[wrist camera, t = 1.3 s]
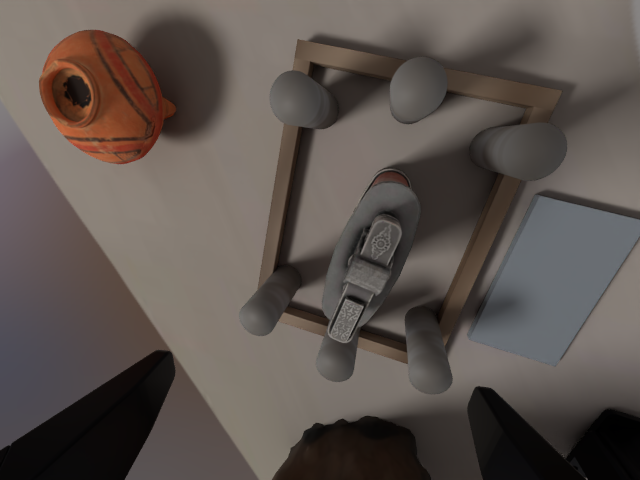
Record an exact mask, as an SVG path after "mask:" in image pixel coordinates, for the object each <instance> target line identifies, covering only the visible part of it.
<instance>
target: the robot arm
mask: <svg viewBox="0 0 640 480" xmlns="http://www.w3.org/2000/svg"><path fill="white" fill-rule="evenodd" d="M174 377H175V365H174V360H173V355H172V353H171V352H170V351H166V350H156V351H154V352H153V353H151V354H150V355H148V356H146V357H145V358H143V359H142V360H140V361H139V362H137V363H135V364H134V365H132V366H131V367H129V368H128V369H126V370H125V371H123V372H121V373H120V374H118V375H117V376H115V377H114V378H112V379H111V380H109V381H108V382H106V383H104V384H103V385H101V386H100V387H98V388H97V389H95V390H93V391H92V392H90V393H89V394H88V395H86V396H84V397H83V398H81V399H80V400H78V401H77V402H75V403H73V404H72V405H70V406H69V407H67V408H65V409H64V410H63V411H61V412H59V413H58V414H56V415H55V416H53V417H51V418H50V419H49V420H47V421H45V422H44V423H42V424H41V425H39V426H38V427H36V428H34V429H33V430H31V431H30V432H28V433H27V434H25V435H24V436H22V437H20V438H19V439H17V440H16V441H14V442H13V443H12V444H11V446H9V445H8V446H6V447H5V448H3V449H2V450H0V480H125V478H126V476H127V474H128V472H129V470H130V469H131V467H132V465H133V463H134V461H135V459H136V458H137V456H138V454H139V452H140V450H141V449H142V447H143V445H144V443H145V441H146V439H147V438H148V436H149V434H150V432H151V430H152V428H153V426H154V423H155V421H156V419H157V417H158V414H159V412H160V409H161V407H162V405H163V403H164V401H165V398H166V396H167V394H168V391H169V389H170V387H171V384H172V382H173V380H174ZM467 412H468V417H469V422H470V426H471V430H472V435H473V439H474V444H475V448H476V453H477V457H478V462H479V466H480V470H481V474H482V477H483V480H586V479H585V478H584V477H586V478H587V479H588V480H640V418H637V417H634V416H631V415H628V414H625V413H622V412H618V411H615V410H611V409H610V410H605V411H604V412H602V414H601V415H600V416H599V418H598V419H597V420H596V421H595V423H594V424H593V425H592V427H591V428H590V429H589V430H588V432H587V433H586V434H585V436H584V437H583V438H582V439H581V441H580V442H579V443H578V444H577V446H576V447H575V448H574V450H573V451H572V452H571V453H570V455H569V456H568V457H567V459H565V458H564V457H563V456H562V455H561V454H559V453H558V452H557V451H556V450H555V449H554V448H553V447H552V446H551V445H550V444H549V443H548V442H547V441H546V440H545V439H544V438H543V437H542V436H541V435H540V434H539V433H538V432H537V431H536V430H535V429H534V428H533V427H532V426H530V425H529V424H528V423H527V422H526V421H525V420H524V419H523V418H522V417H521V416H520V415H519V414H518V413H517V412H516V411H515V410H514V409H513V408H512V407H511V406H510V405H509V404H508V403H507V402H506V401H505V400H504V399H502V398H501V397H500V396H499V395H498V394H497V393H496V392H495V391H494V390H493V389H491V388H488V387H480V386H478V387H476V388H475V389H474V391H473V393H472V396H471V398H470V401H469V403H468V407H467Z"/></svg>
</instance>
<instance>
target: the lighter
mask: <svg viewBox="0 0 640 480" xmlns="http://www.w3.org/2000/svg"><path fill="white" fill-rule="evenodd" d="M420 213H421V206H420V203H419V200H418V198H417V195H416V194H415V193H414V192H413V191H412V189H411V183H410V180H409V178H408V177H407V175H406V174H405V173H404V172H402V171H400V170H399V169H395V168H384V169H382V170H380V171H378V172H377V173H376V174H375V175H374V177H373V178H372V180H371V182H370V183H369V185H368V186H367V188H366V189H365V191H364V192H363V194H362V196H361V198H360V200H359V202H358V204H357V206H356V208H355V210H354V212H353V214H352V215H351V217H350V219H349V221H348V223H347V225H346V227H345V229H344V231H343V233H342V235H341V237H340V239H339V241H338V243H337V245H336V247H335V250H334V253H333V256H332V259H331V263H330V266H329V269H328V272H327V275H326V280H325V286H324V292H323V298H322V310H323V312H324V314H325V316H326V317H327V318H328V319H329V320H330V324H329V327H328V335H329V336H330V337H331V338H333V339H334V340H337V341H339V342H342V343H347V342H349V341H351V339H352V338H353V336H354V334H355V332H356V329H357V327H361V326H363V325H364V324H365V323H367V322H368V320H369V319H370V318H371V317H372V316H373V314H374V313H375V312H376V311H377V309H378V308H379V307H380V306H381V304H382V303H383V302H384V301H385V299H386V297H387V296H388V294H389V292H390V291H391V289H392V287H393V286H394V284H395V283H396V281H397V279H398V278H399V276H400V274H401V271H402V269H403V266H404V264H405V262H406V259H407V257H408V254H409V252H410V250H411V247H412V244H413V240H414V237H415V233H416V229H417V226H418V222H419V218H420Z"/></svg>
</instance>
